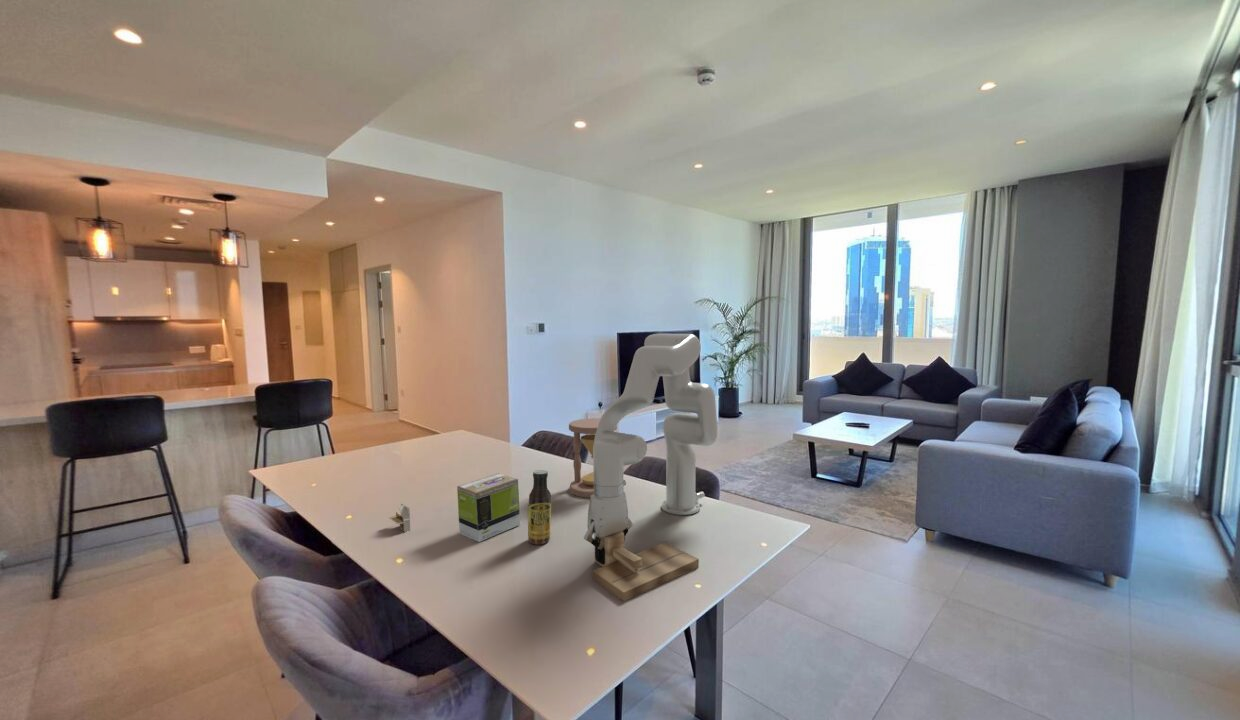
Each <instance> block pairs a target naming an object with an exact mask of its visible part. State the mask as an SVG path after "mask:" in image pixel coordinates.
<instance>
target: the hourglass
mask: <svg viewBox="0 0 1240 720" xmlns="http://www.w3.org/2000/svg"><path fill="white" fill-rule="evenodd" d="M600 419H601V418H595V417H594V418H581V419H576V420H572V421H570V422H569V423H568V430H569V431H570V432H571V433H572V432H573V443H572V448H573V451H574V454H575V455H574V458H573V465H572V466H573V471H574V480H573V481H572V482H571V483H570V484H569V491H570V493H571V494H572V495H574V496H576V497H579V498H587V499H590V498H591V495H593V494H594V471H593V472H592V471H591V472H590V473H587V474H585V475H583V476H582V475H581V472H582V471H581V470H582V459H581V455H580V453H581V449H582V443H583V445H584V447H585V448H586V449H587V451H588V453H590V455H591V456H590V457H591V459H593V446H594V439H595V435H596V431H597V428H598V424H599V421H600ZM617 428H618V425H617V426H616V428H615V430H614V432H616V430H617ZM581 434H583V435H581Z"/></svg>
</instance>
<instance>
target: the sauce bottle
mask: <svg viewBox="0 0 1240 720" xmlns="http://www.w3.org/2000/svg"><path fill="white" fill-rule="evenodd" d="M548 474H549V473H548V471H547V470H545V469H537V470H535V471H534V470H533V473H532V477H533V485H532V490H531V491H530V493H529V496H528V509H527V510H528V518H527V519H528V520H527V521H528V522H527V528H528V529H527V536H528V542H529V543H530V544H533V545H535V546H536V545H543V544H546V543H547V544H548V542H549V541H550V539H551V524H552V523H551V520H552V516H551V514H552V498H551V497H552V496H551V492H550V490H549V489H548V476H549V475H548Z"/></svg>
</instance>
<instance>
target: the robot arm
mask: <svg viewBox="0 0 1240 720" xmlns="http://www.w3.org/2000/svg"><path fill="white" fill-rule="evenodd" d="M701 352H702V351H701V342H700V339H699V338H698V337H697V336H696V335H695V334H693V333H653V334H650V335H648V336H647V337H645V339H644V343H643V346H641V347H639V348H638V349H637V350H635V353H634V355H633V359H632V362H631V366H630V367H629V368H630V369H629V373H628V376H627V379H626V383H625V387H624V390H623V393H622V394H621V395H620V396H619V397H618V398H617V399H616V400H614V401H613V402H612V403H611V404H610V406H609V407H607V409H606V410H605V411H604V412H603V414H601V417H600V418H599V419H600V421H599V424H598V428H597V431H596V435H595V439H594V446H593V458H592V459H593V461H592V462H593V467H592V468H593V472H594V494H593V495H591V498H589V502H588V512H587V531H586V532H585V534H584V536H583V539H584V540H585V541H587V542H588V543H590V544H591V545H593V546H595V553H594V560H595V559H596V561H598V562H599V563H601V564H602V565H603V564H605V549H604V548H603V544H604V537H606V536H609V535H612V534H615V533H617V532H622V533H624V541H625V540H626V536H627V534H628V533H629V530H630V529H631V528H632V526H633V525H634V523H633V521H632V520H631V519H630V518H629V509H628V500H627V495H626V492H625V491H624V489H625V488H624V486H626V485H627V482H626V480H625V479H624V467H625V466H630V465H636V464H638V463H640V462H641V461H642V460H644V458H645V457H646V454H647V451H648V446H647V442H646V440H645V439H644V438H643V437H642V436H640V435H637V434H631V433H625V432H618V431H616V430H615V428H616V426H617V427H618V424H619V423H620V422H621V420H623V419H624V418H625V417H627V415H630V414H631V413H635V412H637V411H639V410H642V409H645V408H646V407H649V406H650V405H652V404H653V402H654V401H655V400H654V399H655V394H656V393H657V391H656V390H657V387H658V383H659V380H660V377H662V381H663V389H664V390H663V391H664V400H665V406H667V408H668V409H669V410H671V411H675V412H674V413H670V414H669V415H667V416H666V417H665V419H664V420H663V423H662V424H663V425H662V426H663V427H662V429H663V430H662V431H663V434H664V441H665V451H666V453H665V454H666V455H665V456H666V457H665V458H666V463H665V464H666V468H665V469H666V470H665V471H666V473H665V475H666V480H665V482H666V483H665V484H666V485H665V487H666V488H665V489H666V491H665V492H666V493H665V494H666V498H665V500H663V501H662V502H661V509H662V510H663V511H664V512H666V513H669V514H671V515H676V516H689V515H693V514H696V513H698V512H699V511H700V510H701V504H700V503H699V502H698V501H699V499H703V498H704V497H705V496H706V494H705V493H704V491H699V492H696V463H697V462H696V454H695V450H694V449H693V447H692V446H691V445H695V446H703V447H710V446H712V445H714V444H715V443H716V441H717V439H718V420H717V419H718V418H717V417H718V416H717V404H716V402H717V401H716V395H715V392H714V390H713V387H712V386H711V385H709V384H707V383H704V382H693V381H691V377H690V367H691V366H692V365H693V364H695V362H696V361H697V360H698V358H699V356H700V354H701ZM614 430H615V431H614ZM594 532H595V535H594ZM599 538H600V539H599ZM598 540H599V542H598Z"/></svg>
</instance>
